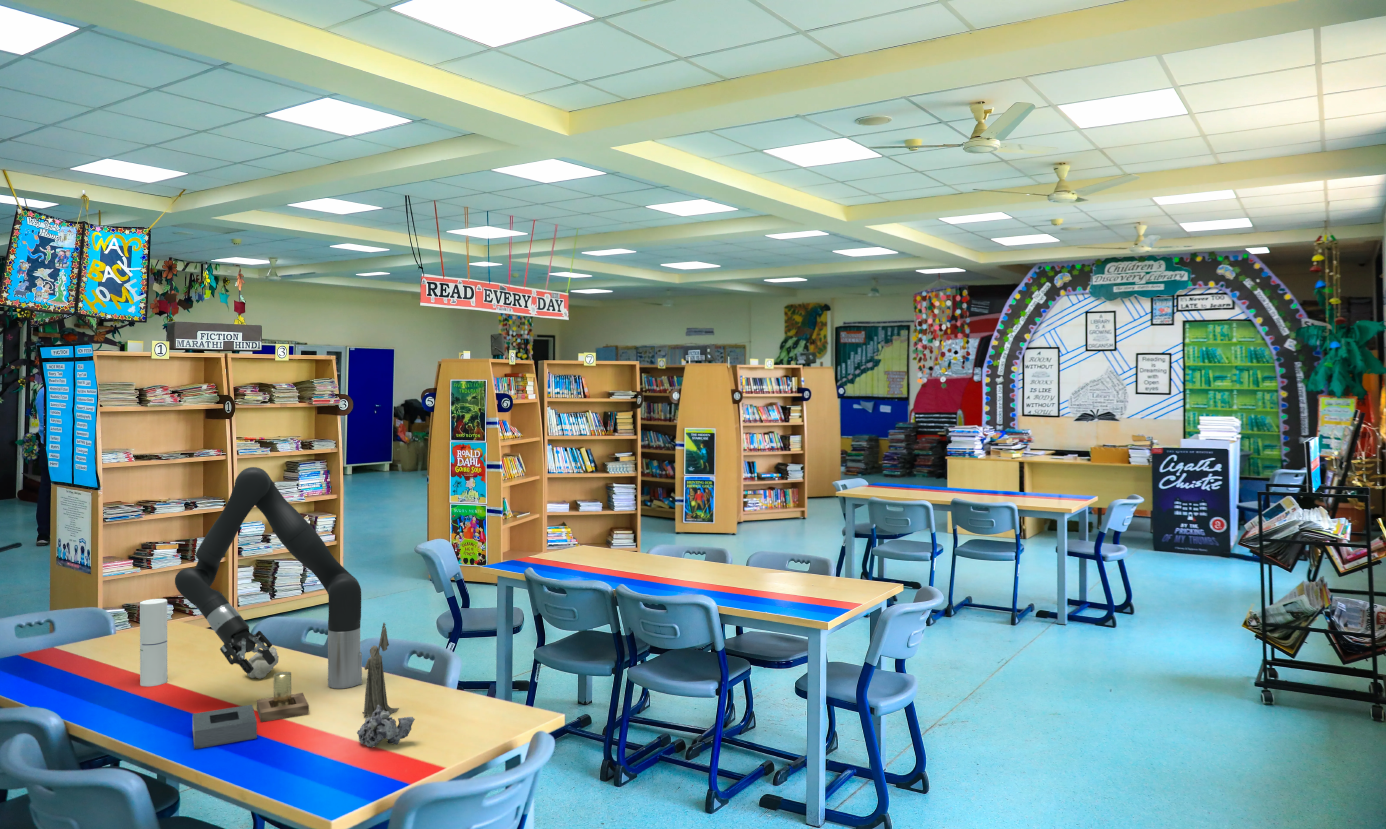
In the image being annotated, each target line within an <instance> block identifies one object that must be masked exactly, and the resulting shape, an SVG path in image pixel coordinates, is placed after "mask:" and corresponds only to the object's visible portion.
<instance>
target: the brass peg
mask: <svg viewBox="0 0 1386 829" xmlns="http://www.w3.org/2000/svg"><path fill="white" fill-rule="evenodd" d="M291 694H292V672H291V671H280V672H275V673H274V674H273V697H274V707H281V706H287V705H291Z"/></svg>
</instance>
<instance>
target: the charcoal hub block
mask: <svg viewBox="0 0 1386 829" xmlns="http://www.w3.org/2000/svg"><path fill="white" fill-rule="evenodd" d="M257 723H258V722H257V717H256V714H255V711H254V707H253V704H247V705H240V706H236V707H235V706H233V707H227V708H221V709H216V710H210V711H209V710H207V711H202V712H197V713H192V736H193V748H194V750H197V749H202V748H203V749H204V748H208V747H209V748H210V747H214V746H215V747H216V746H220V745H227V744H232V743H233V744H234V743H238V742H244V741H250V740H255V739H257V738H258V731H257V729H258V727H257V726H258V725H257Z"/></svg>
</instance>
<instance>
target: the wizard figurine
mask: <svg viewBox="0 0 1386 829" xmlns="http://www.w3.org/2000/svg"><path fill="white" fill-rule="evenodd" d="M386 625H387V624H386V622H383V623H382V627H381V628H382V629H381V633H380V636H379V637H380V638H379V642H378V646H377V645H372V646H371V647H370V649H369V654H370V657H368V658H367V660H366V663H365V666H364V670H365V671H366V670H367V675H366V676H367V677H366V684H365V695H364V703H363V704H364V706H363V711H362V714H364V715H363V719H366V718H368V717H372V714H373V712H374V711H375V710H376V709H377V705H380V706H381V707H382V710H384V711H386V712H387V711H389V714H390V716H391V715H393V714H395V713H396V712H397V711H398V709H400V708H399V707H391V706H389V704H388V697H387V691H386V690H387V688H386V682H385V681H386V680H385V671H384V664H383V655H381V654H380V650H382V652H386V651H388V647H389V646H390V643H389V639H388V631H387V627H386ZM380 648H381V649H380Z"/></svg>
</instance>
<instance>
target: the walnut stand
mask: <svg viewBox="0 0 1386 829" xmlns="http://www.w3.org/2000/svg"><path fill="white" fill-rule="evenodd" d="M309 707H310V705H309V703H308V701H307V699H306V697H305V694H304V692H298V693H291V705H287V706H281V707H274V696H272V697H266V698H258V699H256V711H257V713H258V717H259V721H260V723H263V722H269V721H276V720H282V719H287V718H294V717H300V716H305V715H309V713H310V710H309V709H310V708H309Z"/></svg>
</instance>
